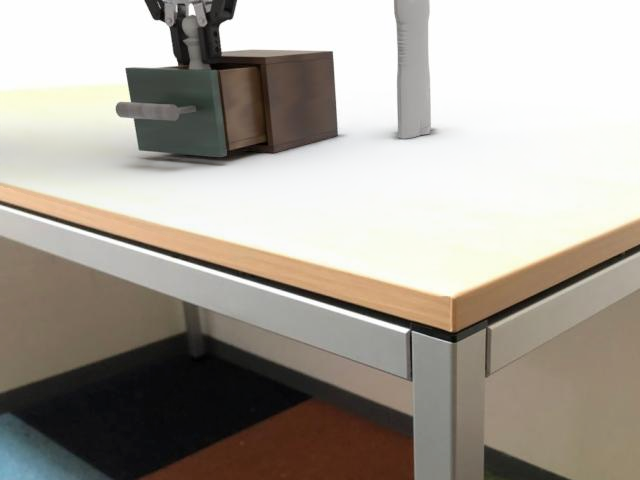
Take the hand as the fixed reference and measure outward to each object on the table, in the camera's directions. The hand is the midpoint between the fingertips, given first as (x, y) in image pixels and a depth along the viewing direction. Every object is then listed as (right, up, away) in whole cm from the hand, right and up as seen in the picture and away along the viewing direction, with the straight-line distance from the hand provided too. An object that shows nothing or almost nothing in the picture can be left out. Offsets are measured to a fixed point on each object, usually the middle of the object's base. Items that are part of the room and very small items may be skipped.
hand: (198, 62), depth 83 cm
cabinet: (+4, -5, +13) cm, 15 cm away
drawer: (0, -9, +3) cm, 9 cm away
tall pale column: (+23, -3, +19) cm, 30 cm away
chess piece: (0, -3, +1) cm, 3 cm away
